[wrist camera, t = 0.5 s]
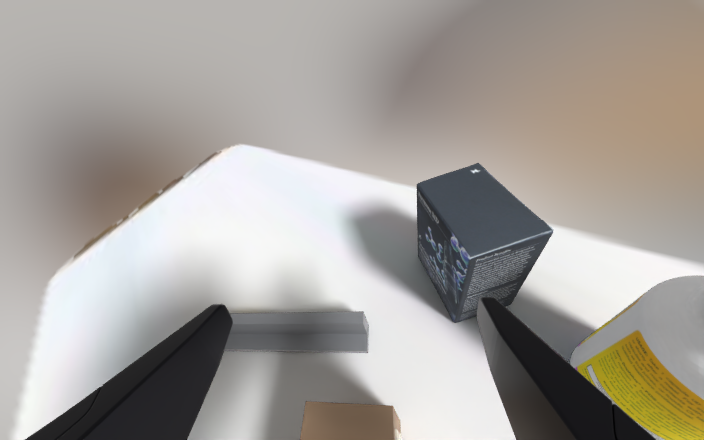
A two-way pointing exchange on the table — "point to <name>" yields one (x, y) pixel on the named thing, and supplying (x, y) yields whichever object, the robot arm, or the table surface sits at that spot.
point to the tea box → (349, 422)
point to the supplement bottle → (653, 359)
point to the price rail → (299, 332)
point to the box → (475, 239)
